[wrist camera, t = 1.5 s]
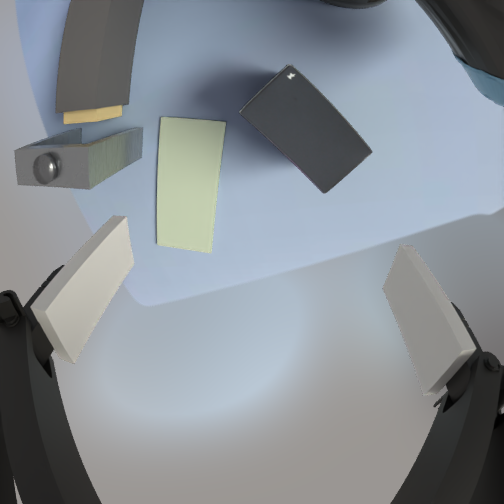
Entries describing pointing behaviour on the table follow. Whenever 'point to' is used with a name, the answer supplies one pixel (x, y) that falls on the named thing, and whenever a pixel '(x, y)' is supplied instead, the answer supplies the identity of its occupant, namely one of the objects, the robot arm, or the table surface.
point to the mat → (188, 182)
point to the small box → (306, 128)
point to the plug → (97, 59)
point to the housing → (76, 159)
